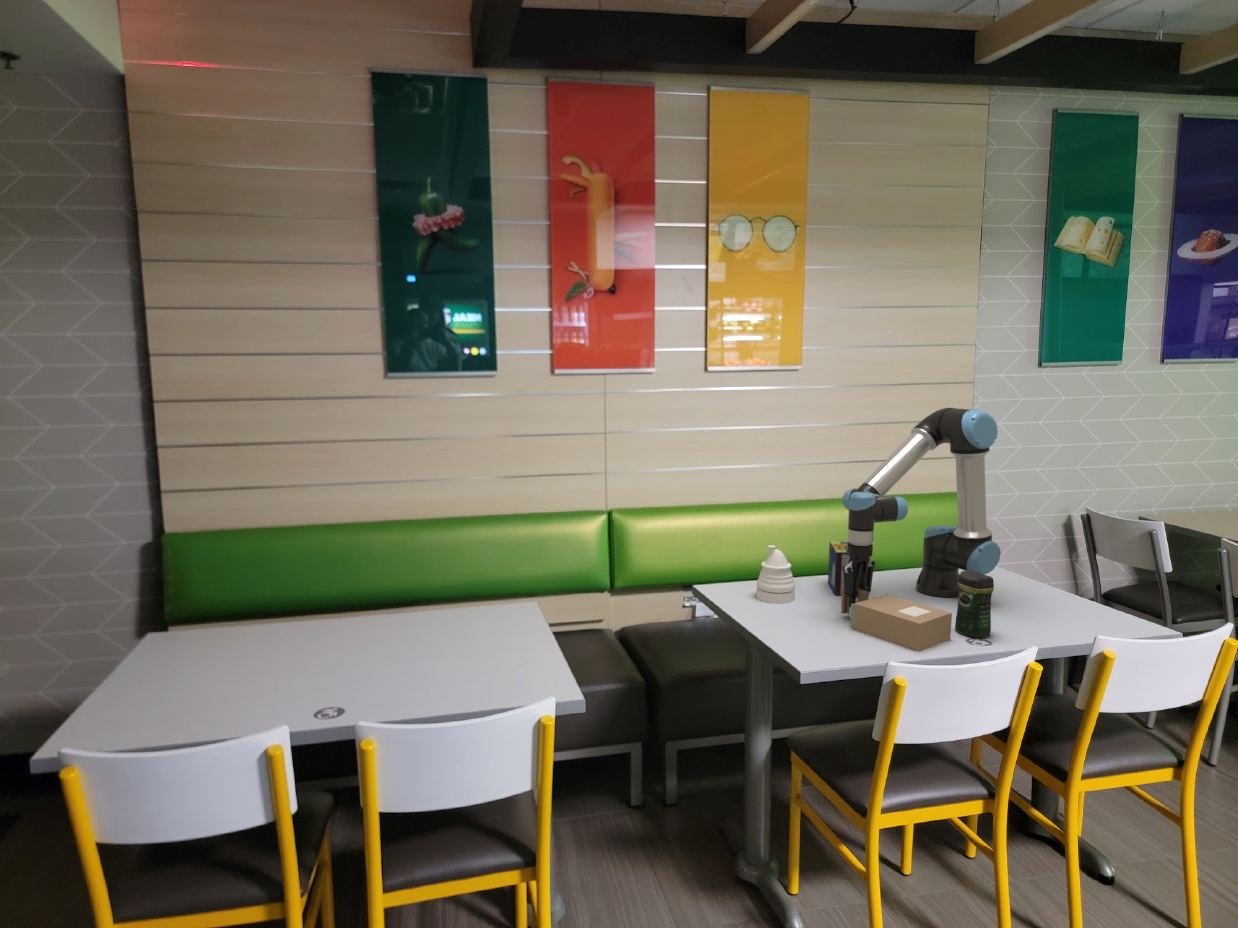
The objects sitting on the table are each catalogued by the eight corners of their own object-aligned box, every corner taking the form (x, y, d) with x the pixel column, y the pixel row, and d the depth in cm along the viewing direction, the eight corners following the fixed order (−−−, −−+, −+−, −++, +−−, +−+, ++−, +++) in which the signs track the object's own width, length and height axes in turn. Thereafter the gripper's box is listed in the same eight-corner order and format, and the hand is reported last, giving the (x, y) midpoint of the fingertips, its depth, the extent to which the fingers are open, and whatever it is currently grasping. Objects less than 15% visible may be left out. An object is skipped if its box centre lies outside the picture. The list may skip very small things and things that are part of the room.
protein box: (857, 583, 290) (859, 541, 288) (865, 596, 275) (867, 552, 273) (827, 582, 291) (829, 540, 289) (834, 595, 276) (836, 551, 274)
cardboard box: (885, 618, 253) (886, 593, 251) (950, 639, 235) (952, 612, 234) (852, 628, 243) (854, 603, 242) (917, 651, 226) (919, 623, 224)
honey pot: (765, 604, 266) (767, 551, 263) (750, 593, 278) (751, 542, 276) (801, 602, 269) (803, 549, 266) (784, 590, 281) (786, 540, 279)
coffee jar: (995, 637, 237) (1000, 575, 234) (974, 640, 234) (978, 578, 232) (970, 626, 246) (974, 567, 243) (949, 629, 243) (953, 569, 241)
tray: (860, 608, 259) (861, 583, 258) (939, 634, 236) (941, 605, 235) (831, 617, 251) (832, 590, 249) (911, 644, 228) (913, 615, 227)
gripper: (865, 536, 256) (862, 608, 259) (833, 543, 247) (830, 618, 250) (886, 541, 250) (882, 614, 253) (854, 548, 241) (850, 624, 244)
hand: (856, 616), depth 252 cm, fingers closed on tray, 2 cm apart
